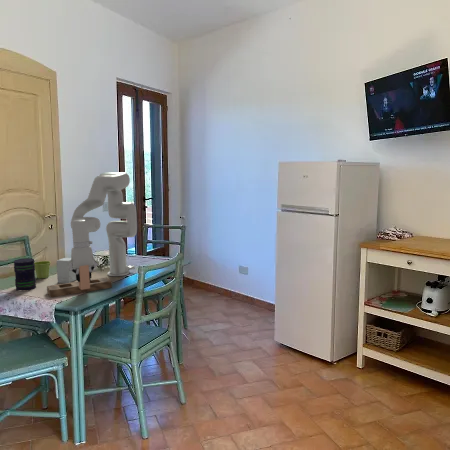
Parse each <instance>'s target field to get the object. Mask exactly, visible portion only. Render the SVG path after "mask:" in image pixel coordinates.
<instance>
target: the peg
mask: <svg viewBox="0 0 450 450" xmlns="http://www.w3.org/2000/svg"><path fill="white" fill-rule="evenodd" d="M79 274H80V282H79V288H80V289H81V290H84V289H89V288H90V278H89V265H84V266H79Z"/></svg>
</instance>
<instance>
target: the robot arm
mask: <svg viewBox="0 0 450 450" xmlns="http://www.w3.org/2000/svg"><path fill="white" fill-rule="evenodd" d="M130 180H131V179H130V176H129V174H128V173H127V172H123V171H121V172H119V171H118V172H116V171H115V172H111V171H110V172H102V173H100V174H99V175H97V176H96V177H95V178H94V179H93V182H92V185H91V187H90V191H89V193H88V196H87V198H86V199H85V200H83V201H82V202H80V204H78V206H77V207H76V208H75V210H74V211H73V214H72V217H71V220H70V227H71V232H72V245H73V247H71V252H70V253H71V255H70V258H71V264H70V265H69V267H68V269H69V270H71V271H73V272H74V273H75V274H76V280H75V281H76V282H80V274H79V266H84V265H89V278H90V280H92V272H93V270H94V269H95V268H96V267H98V266H99V264H98V263H97V261H95V259H94V255H93V249H92V248H93V247H92V246H91V245H93V241H92V240H90V233H96V232H98V231H99V229H100V228H101V221H100V219H99V218H97V217H93V216H85V215H86V214H87V213H89V212H90V211H93V210H96V209H98V208H100V207H102V206H104V203H105V200H106V197H107V207H108V208H107V209H108V215H109V218H111V219H122V220H112V221H109V222H107V224H106V228H105V231H106V235H107V240H108V254H109V256H108V259H109V271H107V273H106V274H107V276H109V277H124V276H127V275H129V274H130V270H135V265H127V250H126V249H127V247H126V242H125V240H124V239H123V238H134V237H135V236H137V232H138V222H137V220H138V219H137V215H138V214H137V208H136V205H135V204H134V203H133V202H131V201H130V202H129V201H124V194H123V192H122V190H124V189H126V188H128V186H129V185H130V182H131V181H130ZM123 219H124V220H123ZM72 267H73V268H75V269H73V268H72Z"/></svg>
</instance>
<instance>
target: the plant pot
mask: <svg viewBox="0 0 450 450" xmlns="http://www.w3.org/2000/svg"><path fill="white" fill-rule="evenodd" d="M51 263H52V262H51V261H49V260H41V261H36V262H35V261H34V264H35V273H36V274H35V276H36V277H37V279H48V278H49V277H50V267H51Z"/></svg>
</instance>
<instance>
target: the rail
mask: <svg viewBox="0 0 450 450" xmlns="http://www.w3.org/2000/svg"><path fill="white" fill-rule="evenodd" d="M112 285H113V284H112V280H111V279H110V278H108V277H100V278H93V279H92V278H91V280H90V288H89V289H84V290H81V289H80V288H79V282H78V281H73V282H70V283H58V284H54V285H53V284H52V285H51V284H50V285H47V286H46V290H47V292H46V293H47V294H48V296H49V297H50V298H54V297H61V296H67V295H73V294H81V293H86V292H92V291H93V292H94V291H99V290H105V289H111V288H112Z"/></svg>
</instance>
